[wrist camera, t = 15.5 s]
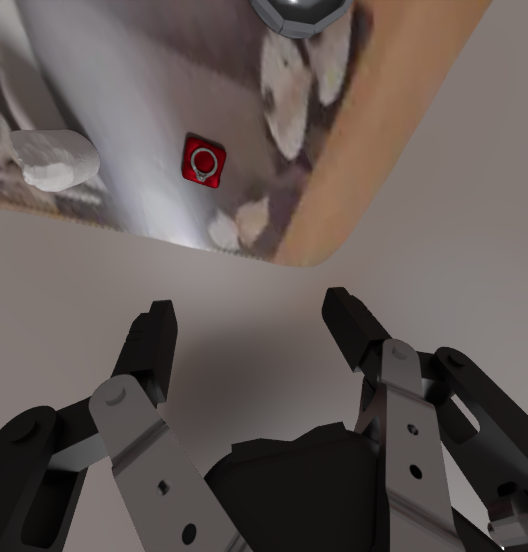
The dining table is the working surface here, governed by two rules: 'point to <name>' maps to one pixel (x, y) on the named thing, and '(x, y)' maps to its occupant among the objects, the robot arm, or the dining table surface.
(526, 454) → the robot arm
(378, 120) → the dining table surface
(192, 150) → the engagement ring
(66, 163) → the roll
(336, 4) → the round dish
